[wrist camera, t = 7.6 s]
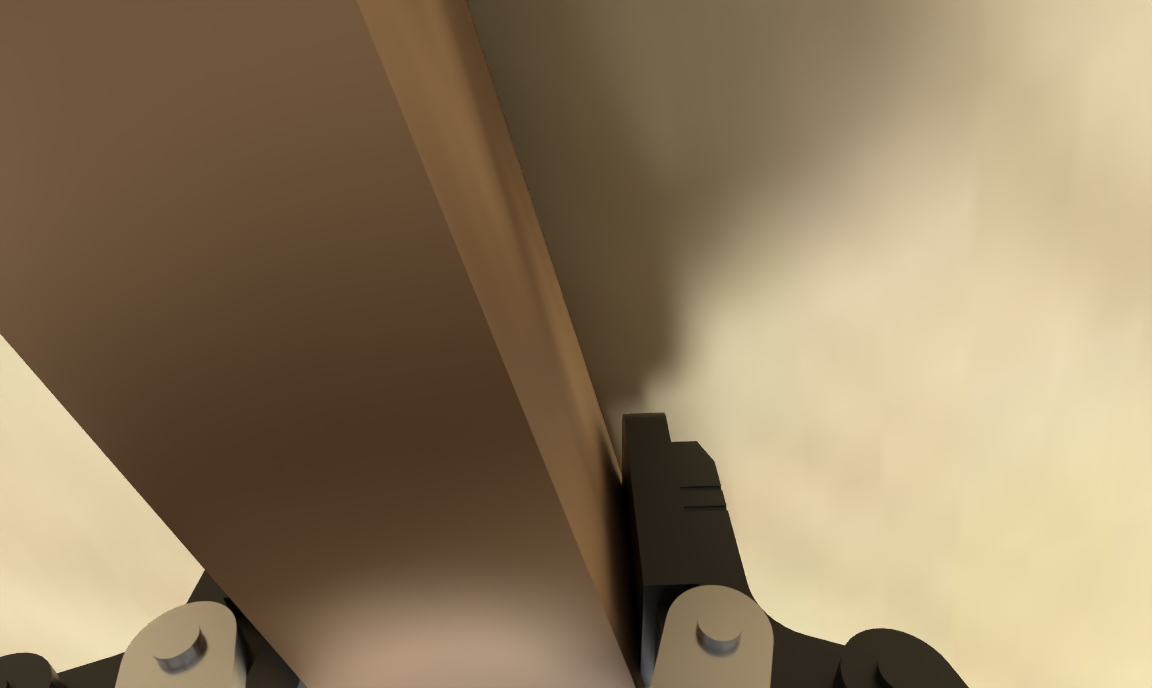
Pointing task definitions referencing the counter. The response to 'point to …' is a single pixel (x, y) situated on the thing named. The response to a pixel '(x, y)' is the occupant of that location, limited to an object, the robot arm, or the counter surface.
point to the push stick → (318, 329)
